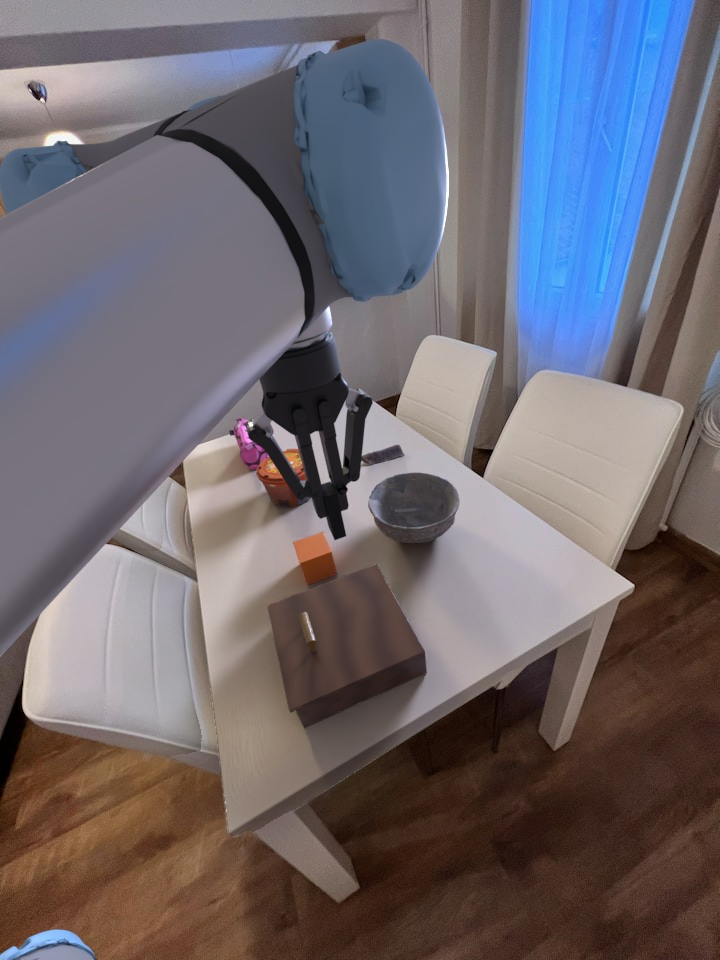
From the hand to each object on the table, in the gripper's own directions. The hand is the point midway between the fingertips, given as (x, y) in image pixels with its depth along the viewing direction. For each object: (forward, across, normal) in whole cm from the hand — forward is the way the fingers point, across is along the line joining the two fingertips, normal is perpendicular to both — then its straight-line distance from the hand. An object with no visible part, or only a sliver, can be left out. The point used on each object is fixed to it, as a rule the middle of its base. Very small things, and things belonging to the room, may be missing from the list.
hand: (337, 531), depth 49 cm
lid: (+28, +2, -7) cm, 29 cm away
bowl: (+35, -23, -29) cm, 51 cm away
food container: (+35, +1, -59) cm, 68 cm away
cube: (+34, +2, -28) cm, 44 cm away
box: (+34, +2, -7) cm, 35 cm away
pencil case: (+35, +9, -88) cm, 95 cm away
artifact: (+35, -28, -62) cm, 77 cm away
